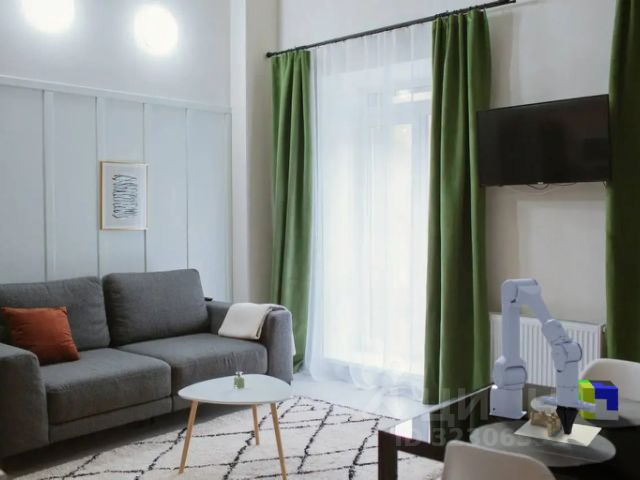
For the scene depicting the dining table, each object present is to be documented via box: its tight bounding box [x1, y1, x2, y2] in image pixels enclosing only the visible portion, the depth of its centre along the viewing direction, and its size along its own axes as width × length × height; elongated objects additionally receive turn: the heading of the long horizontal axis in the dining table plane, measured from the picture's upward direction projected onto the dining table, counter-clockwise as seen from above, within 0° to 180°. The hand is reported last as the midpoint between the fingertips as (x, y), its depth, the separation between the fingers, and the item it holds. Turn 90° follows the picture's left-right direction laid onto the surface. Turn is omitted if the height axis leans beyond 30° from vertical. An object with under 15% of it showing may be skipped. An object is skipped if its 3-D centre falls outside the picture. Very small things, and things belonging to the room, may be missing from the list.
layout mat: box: [513, 419, 602, 447], centre depth 189 cm, size 20×18×1 cm
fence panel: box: [548, 413, 560, 436], centre depth 186 cm, size 7×1×4 cm, turn 140°
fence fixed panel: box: [529, 408, 563, 429], centre depth 192 cm, size 9×1×5 cm, turn 55°
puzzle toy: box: [578, 379, 619, 421], centre depth 203 cm, size 10×10×10 cm
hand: (567, 433), depth 182 cm, fingers closed
